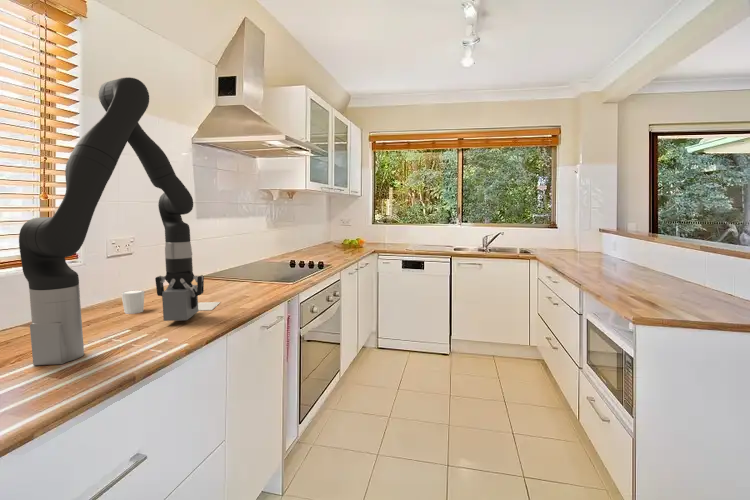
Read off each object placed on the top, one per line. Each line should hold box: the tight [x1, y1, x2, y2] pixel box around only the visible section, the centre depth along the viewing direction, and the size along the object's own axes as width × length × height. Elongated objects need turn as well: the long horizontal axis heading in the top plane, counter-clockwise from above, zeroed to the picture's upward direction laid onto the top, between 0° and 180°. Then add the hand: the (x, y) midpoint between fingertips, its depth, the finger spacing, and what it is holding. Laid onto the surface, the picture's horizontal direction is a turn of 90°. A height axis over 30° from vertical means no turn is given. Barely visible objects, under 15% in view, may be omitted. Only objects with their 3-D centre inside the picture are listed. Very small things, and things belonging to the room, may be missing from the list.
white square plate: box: [198, 301, 221, 312], centre depth 149 cm, size 12×12×1 cm
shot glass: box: [121, 289, 145, 315], centre depth 141 cm, size 7×7×7 cm
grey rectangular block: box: [161, 284, 199, 322], centre depth 129 cm, size 11×7×9 cm, turn 6°
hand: (181, 308), depth 130 cm, fingers closed on grey rectangular block, 7 cm apart
